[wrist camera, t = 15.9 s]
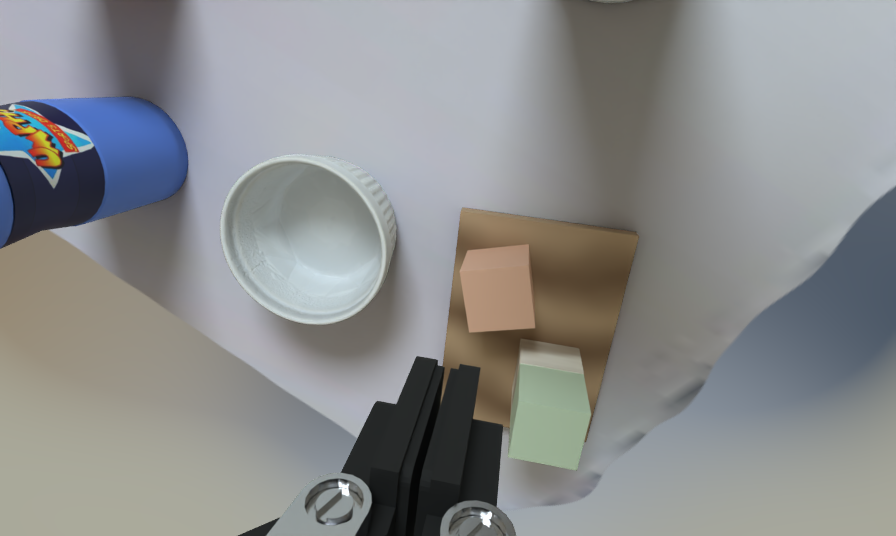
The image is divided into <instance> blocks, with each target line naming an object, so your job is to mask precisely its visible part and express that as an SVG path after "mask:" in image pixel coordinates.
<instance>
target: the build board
mask: <svg viewBox="0 0 896 536" xmlns="http://www.w3.org/2000/svg"><path fill="white" fill-rule="evenodd" d="M638 239H639V235H638V234H637V233H636V232H633V231H626V230H619V229H612V228H605V227H598V226H590V225H583V224H576V223H569V222H562V221H555V220H548V219H541V218H534V217H527V216H520V215H513V214H505V213H498V212H491V211H484V210H477V209H470V208H462V210H461V214H460V223H459V231H458V240H457V248H456V257H455V266H454V274H453V283H452V291H451V300H450V308H449V317H448V325H447V334H446V342H445V351H444V359H443V367H445V371H444V379H443V388H442V396H441V401H442V398H443V394H444V391H445V387H446V384H447V380H448V376H449V373H450V369H451V368H454V369H459V366H460V364H464V365H470V366H475V367H481V369H480V376H479V383H478V389H477V396H476V402H475V409H474V416H473V419H476V420H482V421H487V422H492V423H498V424H503V427H508V428H510V415H511V409H512V404H513V399H514V393H515V388H516V382H517V377H518V371H519V366H520V363H521V364H526V365H532V366H538V367H544V368H549V369H555V370H561V371H567V372H572V373H578V374H584V378H585V384H586V389H587V394H588V400H589V405H590V410H591V417H590V421H589V425H588V429H587V432H586V436H585V440H584V442H586V440H587V436H588V432H589V428H590V424H591V421H592V417H593V413H594V409H595V405H596V401H597V397H598V393H599V390H600V386H601V382H602V378H603V374H604V370H605V366H606V363H607V359H608V355H609V351H610V347H611V343H612V339H613V335H614V332H615V328H616V324H617V320H618V316H619V312H620V308H621V305H622V301H623V297H624V293H625V289H626V285H627V281H628V277H629V274H630V270H631V266H632V262H633V258H634V254H635V250H636V247H637V243H638ZM526 244H529V252H530V262H531V271H532V280H533V290H534V299H535V328H530V329H515V330H500V331H485V332H471V333H469V328H468V322H467V316H466V309H465V303H464V296H463V290H462V284H461V277H460V269H461V267H462V264H463V261H464V259H465V256H466V253H467V251H468V250H476V249H486V248H496V247H506V246H516V245H526ZM440 405H441V404H440Z"/></svg>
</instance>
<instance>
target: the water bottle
mask: <svg viewBox="0 0 896 536" xmlns="http://www.w3.org/2000/svg"><path fill="white" fill-rule="evenodd" d="M187 169H188V154H187V150H186V145H185V142H184V140H183V137H182V135H181V133H180V131H179V129H178V128H177V126H176V124H175V123H174V122H173V121H172V119H171V118H170V117H169V116H168V115H167V114H166V113H165V112H164V111H163V110H162V109H160V108H159V107H158V106H156V105H154V104H153V103H151V102H149V101H146V100H144V99H141V98H136V97H102V98H68V99H42V100H24V101H20V102H17V103H12V104H6V105H1V106H0V249H1V248H3V247H5V246H8V245H10V244H12V243H15V242H17V241H19V240H21V239H24V238H26V237H28V236H30V235H33V234H35V233H37V232H40V231H42V230H49V229H56V228H62V227H69V226H78V225H82V224H85V223H89V222H92V221H95V220H99V219H102V218H105V217H109V216H112V215H115V214H119V213H122V212H125V211H128V210H131V209H135V208H138V207H141V206H144V205H147V204H151V203H154V202H157V201H160V200H164V199H167V198H168V197H170V196H172V195H174V194H175V193H176V192H177V191H178V190H179V189H180V187H181V186H182V184H183V183H184V180H185V177H186V174H187Z"/></svg>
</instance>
